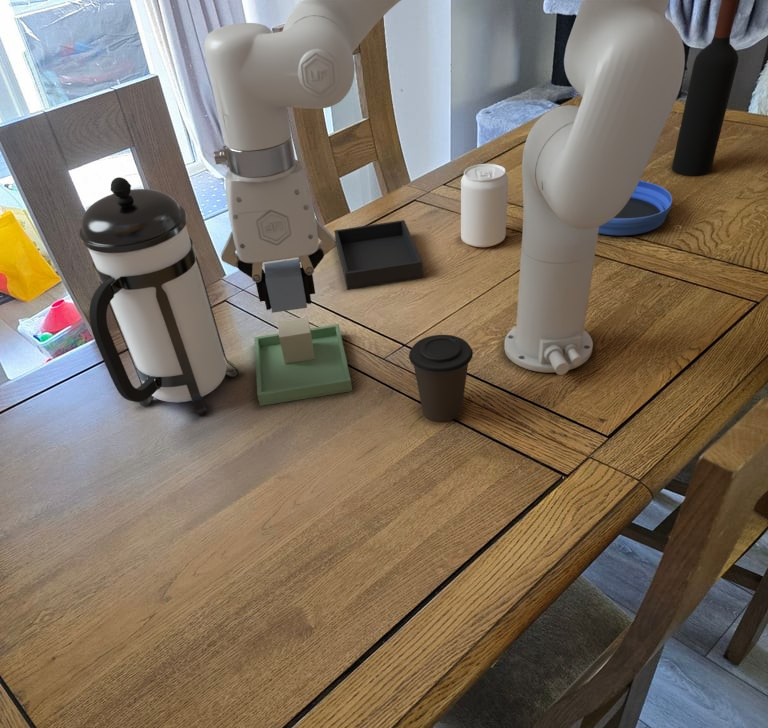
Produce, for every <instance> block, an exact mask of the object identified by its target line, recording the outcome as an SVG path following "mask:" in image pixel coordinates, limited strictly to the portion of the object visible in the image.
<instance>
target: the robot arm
mask: <svg viewBox="0 0 768 728" xmlns="http://www.w3.org/2000/svg"><path fill="white" fill-rule="evenodd" d="M401 1H402V0H299V1H298V2H297V4H296V5H295V6H294V8H293V9H292V11H291V13H290V14H289V15H288V17H287V19H286V21H285V23H284V24H283V25H284V26H283V28H282V30H281V31H277V32H273V31H272V30H271V28H269V27H268V26H267V25H264V24H261V23H257V22H256V23H255V22H241V23H240V22H239V23H233V24H227V25H224V26H219V27H217V28H215V29H213V30H211V31H210V32H209V33H208V34H207V36H206V37H205V40H204V45H203V47H204V48H203V50H204V57H205V61H206V66H207V70H208V74H209V79H210V83H211V88H212V92H213V97H214V101H215V106H216V110H217V115H218V119H219V124H220V129H221V133H222V137H223V142H224V145H223V146H222V148H220V149H219V150H217V151H216V150H215V151H213V157H214V161H215V165H222V166H226V168H229V169H228V170H227V171H226V173H225V177H224V178H225V179H224V181H225V196H226V197H225V198H226V206H227V210H228V211H227V212H228V216H229V217H228V218H229V222H230V227H231V228H230V229H231V232H230V234H229V236H228V238H227V240H226V242H225V244H224V246H223V249H222V251H221V253H220V258H221V261H222V262H223V263H225V264H227V265H230V266H232V267H233V268H236V269H238V271H240V272H241V273H243V274H245V275H246V276H247V277H249V278H250V279H251V280H252V282H254V283H255V286H256V291H257V295H258V299H259V302H261V303H262V302H264V303H265V309H266V311H272V309H271V304H270V300H269V295H268V290H267V285H266V281H265V269H263V263H270V262H277V261H284V260H291V259H299V261H300V267H301V274H302V280H303V286H304V292H305V298H306V303H307V305H311V304H312V297H311V295H315V294H316V289H315V282H314V275H313V274H314V272H315V270H316V268H317V267H318V266H319V264H320V263H321V261H322V260H323V259H324V257H325V256H326V255H327V254H328V253H329V252H330V251H331V250H332V249H334V247H336V240H335V235H333V234H332V233H331V232H330V231H329V230H328V229H327V228H326V227H325V226H324V225H323V224H322V223H321V222H320V221H319V220H318V219H317V217H316V214H315V209H314V204H313V199H312V198H313V197H312V193H311V190H310V189H311V188H310V186H309V181H308V179H307V175H306V172H305V170H304V167H303V165H302V163H301V162H300V161H299V159H296V156H295V151H294V144H293V137H292V130H291V123H290V118H289V111H288V108H295V109H309V110H318V109H319V110H321V109H327V108H331V107H333V106H335V105H337V104H339V103H340V102H341V101H343V100H344V99H345V97H347V95H348V94H349V92H350V90H351V89H352V86H353V83H354V78H355V72H356V71H355V59H354V54H353V53H354V52H355V50H356V49H357V48H358V47H359V46H360V44H361V43H362V42H363V40H364V39H365V38H366V37H367V36H368V34H369V33H370V32H371V31H372V29H373V28H374V27H375V26H376V25H377V24H378V23H379V22H380V21H381V20H382V18H384V16H386V14H387V13H388V12H389V11H390V10H391V9H392V8H393V7H395V6H396V5H397V4H398V3H400V2H401ZM670 2H671V0H581V3H580V6H579V8H578V11H577V14H576V17H575V20H574V23H573V26H572V27H571V31H570V34H569V36H568V39H567V42H566V46H565V51H564V57H563V67H564V72H565V76H566V78H567V80H568V82H569V84H570V85H571V86H572V88H573V89H574V90H575V91H576V93H578V95H579V96H580V97H581V100H580V103H579V106H578V105H572V104H571V105H570V104H569V105H561V106H557V107H553V108H551V109H550V110H548V111H546V113H543V115H541V116H540V118H538V119H537V121H536V122H535V123H534V124H533V125H532V127H531V129H530V131H529V133H528V134H527V137H526V140H525V143H524V147H523V153H522V161H521V162H522V164H521V174H522V175H521V176H522V178H521V179H522V197H523V198H522V201H523V203H522V204H523V208H522V209H523V211H522V213H523V215H522V233H521V234H522V235H521V236H522V237H521V249H520V262H519V278H518V295H517V307H516V308H517V311H516V323H515V327H513V328H512V329H510V331H509V332H508V333H507V334H506V336H505V337H504V342H503V343H504V344H503V345H504V347H503V349H504V353H505V355H506V357H507V358H508V359H509V360H510V361H511V362H512V363H514V364H515V365H517V366H519V367H520V368H523V369H526V370H528V371H532V372H538V373H547V374H549V373H550V374H551V373H553V374H554V373H556V375H558V376H563V375H565V374H567V373H568V372H569V371H571V370H573V369H576V368H578V367H580V366H582V365H583V364H585V363H586V362H587V361H588V360H589V359H590V357H591V355H592V353H593V347H594V343H593V339H592V337H591V335H590V333H588V332H587V330H585V325H586V318H587V313H588V312H587V311H588V305H589V299H590V291H591V286H592V285H591V284H592V278H593V272H594V265H595V257H596V252H597V251H596V250H597V245H598V239H599V233H598V232H599V226H601V225H603V224H605V223H607V222H608V221H610V220H611V219H613V218H614V217H615V216H616V215H617V214H618V213H619V212H620V211H621V210H622V209H623V208H624V206H625V205H626V204H627V202H628V201H629V199H630V198H631V196H632V194H633V192H634V191H635V189H636V187H637V185H638V183H639V181H641V179H642V176H643V175H644V172H645V170H646V168H647V166H648V163H649V161H650V159H651V157H652V155H653V153H654V150H655V148H656V146H657V144H658V142H659V138H660V137H661V135H662V133H663V131H664V128H665V126H666V124H667V122H668V119H669V117H670V115H671V113H672V110H673V108H674V106H675V103H676V101H677V99H678V96H679V93H680V90H681V86H682V83H683V78H684V72H685V65H686V53H685V46H684V42H683V39H682V36H681V34H680V32H679V30H678V29H677V28H676V26H675V25H674V24H673V22H672V21H670V19H668V18H667V17H665V16H666V13H667V10H668V6H669V4H670ZM319 240H320V242H319Z"/></svg>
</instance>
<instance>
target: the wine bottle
mask: <svg viewBox="0 0 768 728" xmlns="http://www.w3.org/2000/svg"><path fill="white" fill-rule="evenodd" d="M738 4H739V0H721V2H720V8H719V11H718V16H717V18H716V19H717V20H716V23H715V29H714V34H713V37H712V39H711V42H710V43H708V45H706V46H705V47H703V48H702V49H701V50H700V51H699V52H698V54H696V57H695V59H694V61H693V65H692V70H691V75H690V80H689V83H688V89H687V92H686V93H687V95H686V99H685V102H684V103H685V104H684V108H683V113H682V118H681V122H680V127H679V130H678V137H677V140H676V146H675V149H674V150H675V151H674V156H673V161H672V165H671V169H672V171H673V173H675V174H678V175H679V176H680V175H681V176H684V177H685V176H686V177H687V176H688V177H700V176H704V175H707V174H709V173H711V171H712V168H713V164H714V160H715V156H716V152H717V148H718V144H719V140H720V137H721V132H722V128H723V124H724V120H725V117H726V113H727V109H728V103H729V101H730V96H731V91H732V87H733V84H734V80H735V76H736V71H737V68H738V64H739V54H738V52H737V50H736V49H735V48H734V47H733V45H732V44H731V34H732V30H733V25H734V21H735V17H736V14H737V9H738V6H739V5H738Z"/></svg>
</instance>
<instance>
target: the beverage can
mask: <svg viewBox="0 0 768 728" xmlns="http://www.w3.org/2000/svg"><path fill="white" fill-rule="evenodd" d="M508 194H509V176H508V174H507V171H506V168H505V167H504V166H502V165H499V164H495V163H479V164H474V165H471V166H469V167H467V168H466V169H464V171H463V175H462V177H461V180H460V238H461V241H462V242H463V243H464V244H466V245H468V246H471V247H474V248H490V247H494V246H496V245H498V244H500V243H502V242H503V241H504V240H505V239H506V235H507V219H508V218H507V215H508V198H509V197H508Z"/></svg>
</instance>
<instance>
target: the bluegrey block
mask: <svg viewBox="0 0 768 728" xmlns="http://www.w3.org/2000/svg"><path fill="white" fill-rule="evenodd" d="M263 267H264V273H265V281H266V285H267V290H268V295H269V300H270V304H271V313H273V314H274V313H280V312H288V311H295V310H300V309H307V308H308V303H306V298H305V292H304V286H303V280H302V274H301V268H302V266H301V262H300V260H299V258H294V259H287V260H280V261H273V262H266V263H264V265H263Z"/></svg>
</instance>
